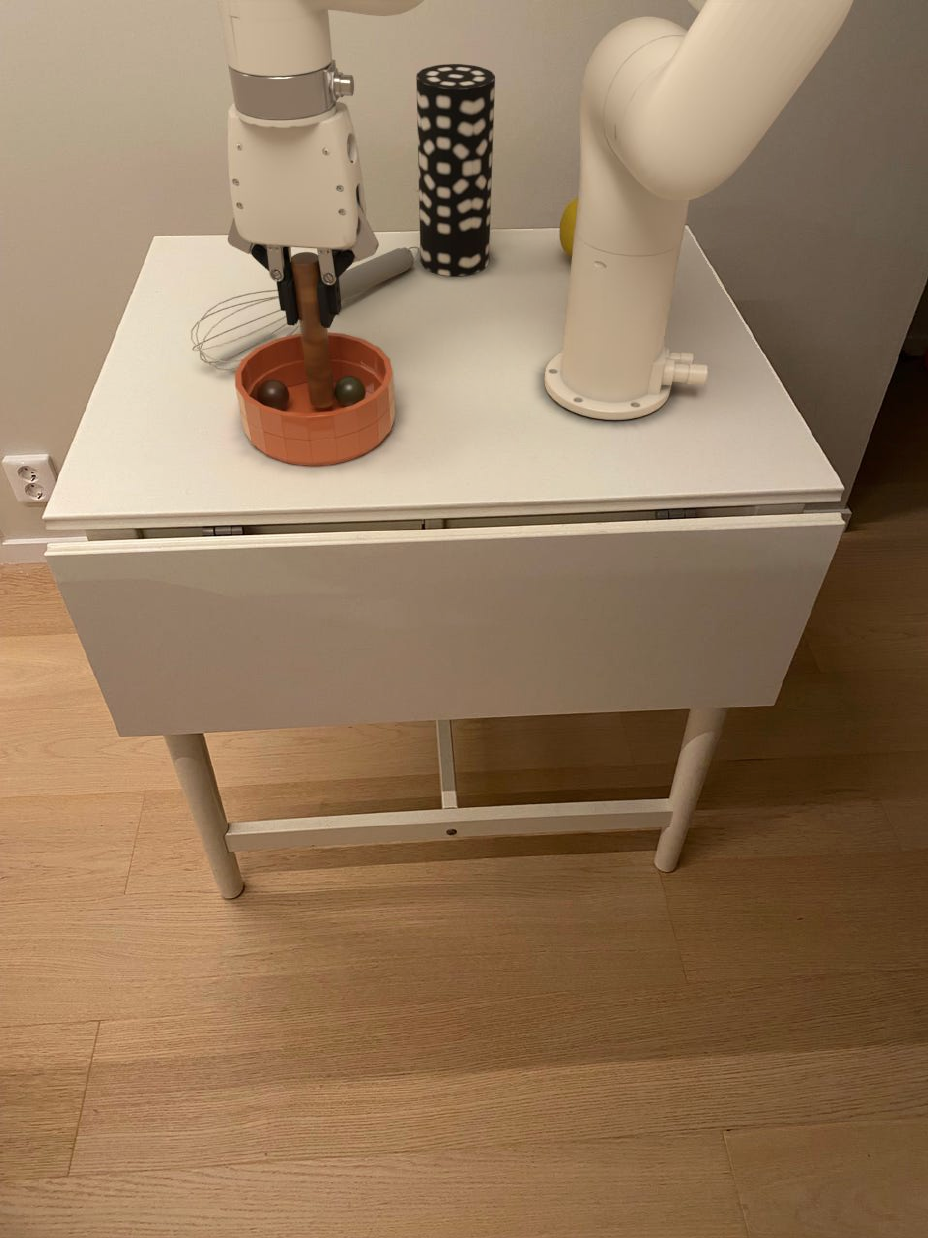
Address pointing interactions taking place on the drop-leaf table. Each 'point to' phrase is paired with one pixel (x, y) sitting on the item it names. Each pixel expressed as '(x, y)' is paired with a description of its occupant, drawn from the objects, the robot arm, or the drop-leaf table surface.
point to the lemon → (568, 226)
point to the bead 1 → (273, 394)
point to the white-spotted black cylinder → (455, 167)
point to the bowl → (305, 427)
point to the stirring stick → (313, 330)
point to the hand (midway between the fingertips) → (312, 317)
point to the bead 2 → (349, 391)
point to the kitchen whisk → (349, 285)
